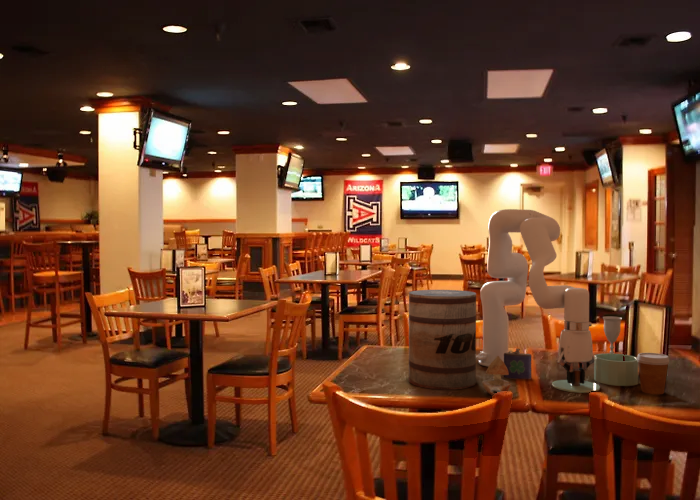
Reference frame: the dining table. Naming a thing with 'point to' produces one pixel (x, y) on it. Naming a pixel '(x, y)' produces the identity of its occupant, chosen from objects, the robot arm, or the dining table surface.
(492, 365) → the oil lamp
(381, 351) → the dining table surface
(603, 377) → the canister
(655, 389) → the disposable coffee cup
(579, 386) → the lid
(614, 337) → the chalice
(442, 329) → the barrel
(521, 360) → the flask
